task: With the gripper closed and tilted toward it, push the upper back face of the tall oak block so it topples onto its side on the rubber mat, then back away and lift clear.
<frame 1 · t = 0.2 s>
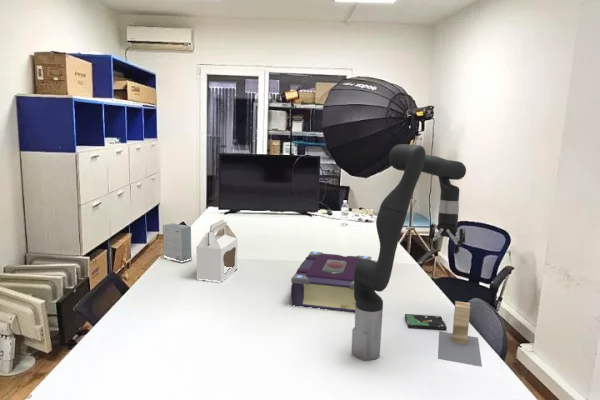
hand: (445, 251, 177), 29 cm above the table, tool pointing down, fingers open, 8 cm apart
oak block: (459, 340, 164), point 1 cm above the table, touching rubber mat
disk drive: (424, 326, 177), on the table
book: (332, 292, 211), on the table
rubber mat: (458, 349, 158), on the table
gable box: (217, 275, 230), on the table
hard drive box: (177, 259, 254), on the table
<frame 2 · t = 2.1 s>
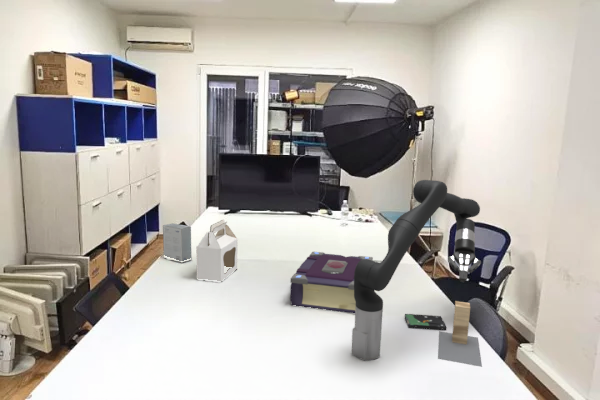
hand: (463, 280, 170), 20 cm above the table, tool tilted 45°, fingers closed
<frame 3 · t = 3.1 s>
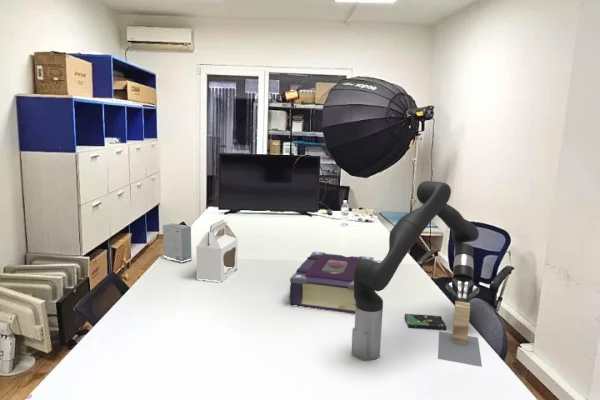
hand: (461, 309, 167), 11 cm above the table, tool tilted 45°, fingers closed
nothing on the table moved.
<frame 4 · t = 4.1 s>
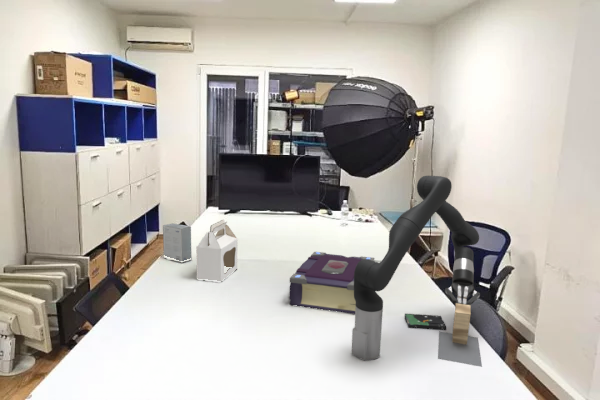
hand: (461, 314, 162), 11 cm above the table, tool tilted 45°, fingers closed
oak block: (459, 338, 163), point 1 cm above the table, tilted 17°, touching rubber mat
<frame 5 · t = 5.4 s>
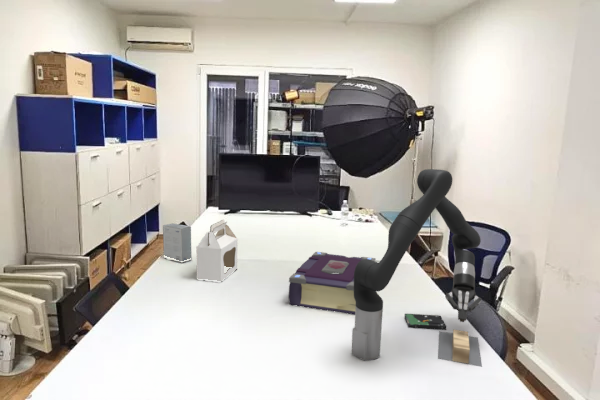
hand: (462, 320, 156), 11 cm above the table, tool tilted 45°, fingers closed
oak block: (460, 337, 161), point 3 cm above the table, tilted 90°, touching rubber mat
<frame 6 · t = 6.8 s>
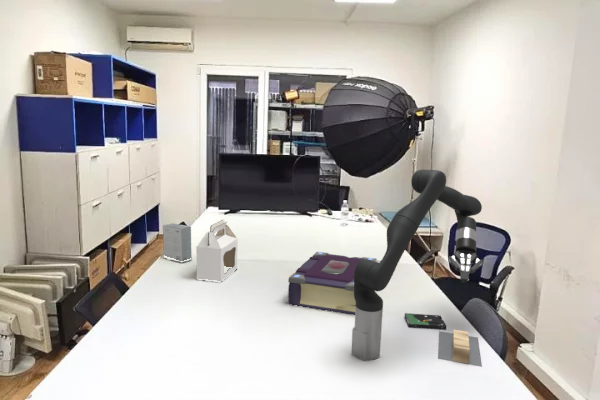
hand: (464, 281, 165), 22 cm above the table, tool tilted 45°, fingers closed
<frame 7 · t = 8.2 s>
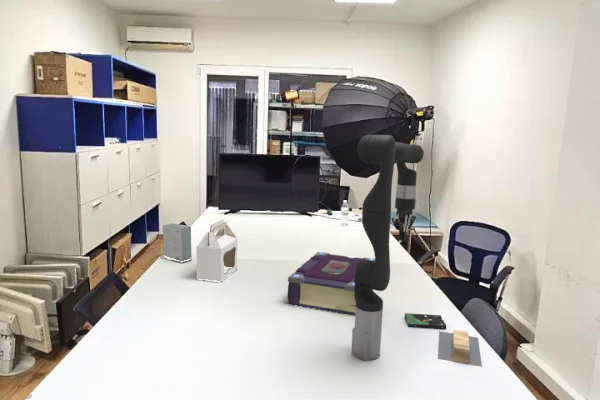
hand: (402, 240, 172), 35 cm above the table, tool pointing down, fingers closed
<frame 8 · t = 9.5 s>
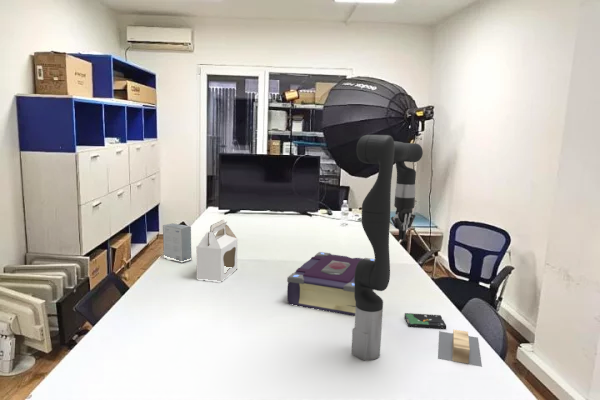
hand: (402, 239, 172), 35 cm above the table, tool pointing down, fingers closed
at the end: oak block tilted 90°; oak block touching rubber mat; oak block 3.4 cm from the rubber mat (horizontally) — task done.
